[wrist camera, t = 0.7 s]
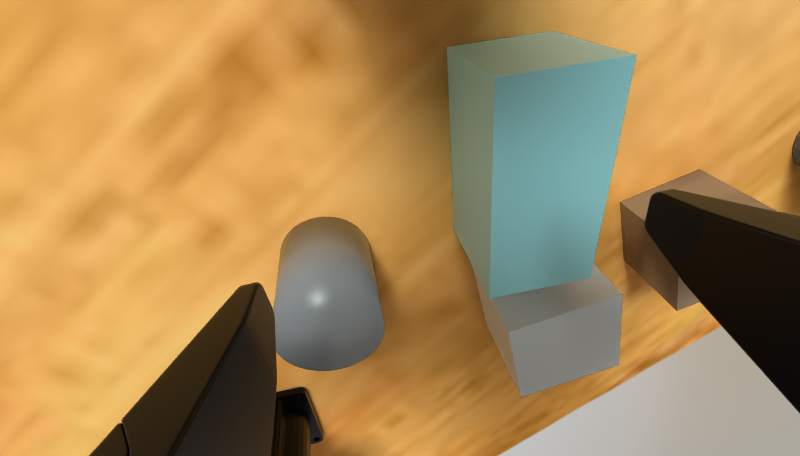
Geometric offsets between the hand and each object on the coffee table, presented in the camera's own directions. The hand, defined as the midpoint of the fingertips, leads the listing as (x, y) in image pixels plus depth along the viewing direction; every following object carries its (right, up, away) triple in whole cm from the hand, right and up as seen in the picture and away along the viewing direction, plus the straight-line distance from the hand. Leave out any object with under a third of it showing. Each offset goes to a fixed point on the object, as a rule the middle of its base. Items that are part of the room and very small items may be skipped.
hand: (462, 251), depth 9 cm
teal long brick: (+4, +5, +12) cm, 14 cm away
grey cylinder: (-6, -1, +14) cm, 15 cm away
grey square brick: (+7, -3, +18) cm, 19 cm away
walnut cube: (+15, +1, +17) cm, 23 cm away
